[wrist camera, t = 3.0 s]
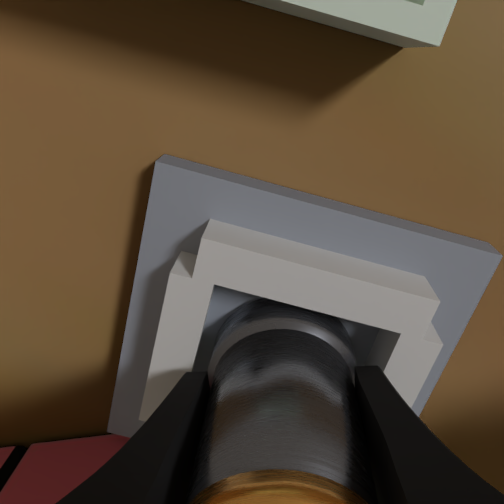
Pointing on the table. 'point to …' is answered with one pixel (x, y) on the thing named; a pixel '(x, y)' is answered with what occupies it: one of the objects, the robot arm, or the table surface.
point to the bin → (376, 17)
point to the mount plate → (287, 281)
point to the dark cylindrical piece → (282, 413)
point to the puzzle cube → (52, 467)
